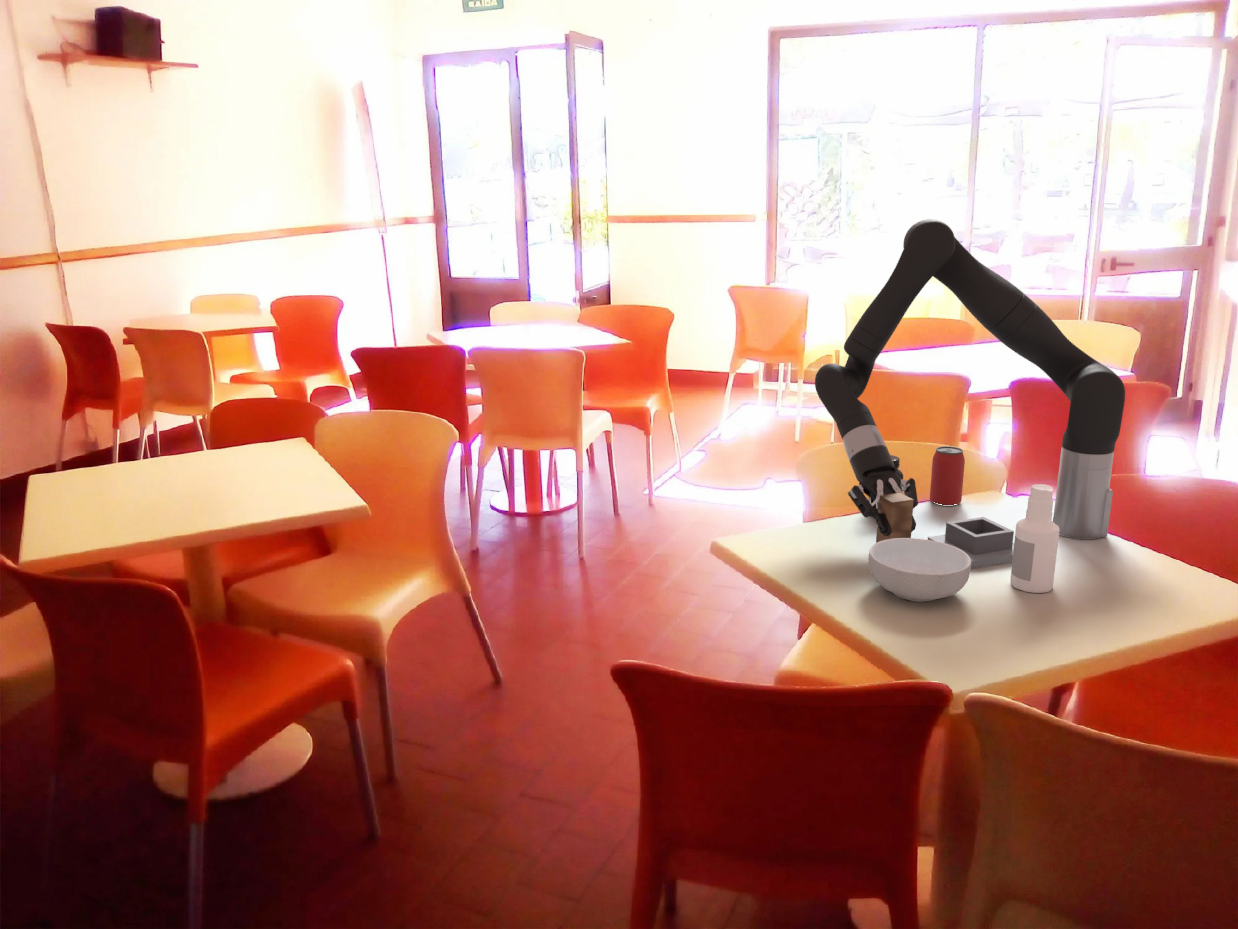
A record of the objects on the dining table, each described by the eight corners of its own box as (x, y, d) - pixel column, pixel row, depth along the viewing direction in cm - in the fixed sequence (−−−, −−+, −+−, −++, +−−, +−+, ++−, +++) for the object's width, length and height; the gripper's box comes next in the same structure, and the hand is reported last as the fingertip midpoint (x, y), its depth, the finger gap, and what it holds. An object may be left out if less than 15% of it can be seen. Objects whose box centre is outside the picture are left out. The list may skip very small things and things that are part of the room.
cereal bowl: (970, 619, 154) (974, 578, 152) (864, 607, 159) (866, 568, 157) (966, 578, 170) (969, 541, 168) (869, 569, 175) (871, 532, 173)
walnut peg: (895, 546, 184) (899, 492, 181) (909, 554, 180) (913, 499, 177) (875, 549, 183) (878, 495, 180) (889, 558, 179) (892, 502, 176)
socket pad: (983, 535, 190) (985, 511, 188) (1029, 559, 178) (1032, 533, 176) (927, 544, 186) (929, 520, 184) (970, 568, 174) (973, 543, 172)
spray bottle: (1020, 574, 171) (1030, 478, 166) (1059, 585, 166) (1071, 486, 161) (1003, 586, 166) (1013, 487, 161) (1042, 597, 162) (1054, 496, 156)
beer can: (923, 499, 211) (927, 447, 208) (948, 496, 213) (953, 444, 210) (941, 508, 205) (945, 454, 202) (967, 505, 207) (972, 451, 204)
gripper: (843, 447, 181) (875, 528, 173) (908, 440, 185) (942, 518, 177) (827, 467, 187) (858, 546, 180) (891, 459, 191) (923, 536, 184)
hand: (900, 532), depth 179 cm, fingers closed on walnut peg, 4 cm apart
